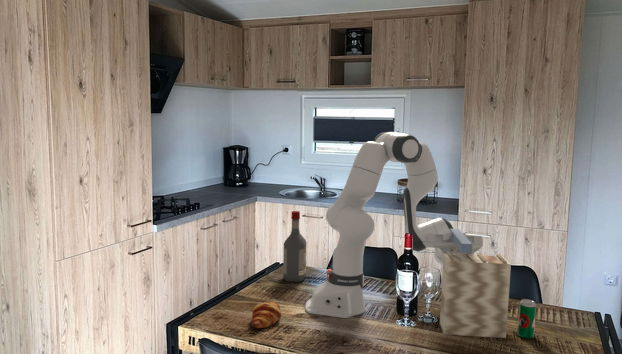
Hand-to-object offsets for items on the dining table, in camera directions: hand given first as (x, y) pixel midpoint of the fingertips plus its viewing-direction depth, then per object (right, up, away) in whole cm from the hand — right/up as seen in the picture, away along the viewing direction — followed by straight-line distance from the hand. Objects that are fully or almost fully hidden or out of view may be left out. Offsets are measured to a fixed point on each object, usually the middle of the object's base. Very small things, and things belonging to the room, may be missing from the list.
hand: (457, 235), depth 175 cm
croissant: (-66, -30, +1) cm, 73 cm away
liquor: (-58, -25, +46) cm, 79 cm away
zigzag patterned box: (+4, -32, -5) cm, 32 cm away
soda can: (+20, -33, -9) cm, 40 cm away
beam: (-1, -3, -5) cm, 6 cm away
